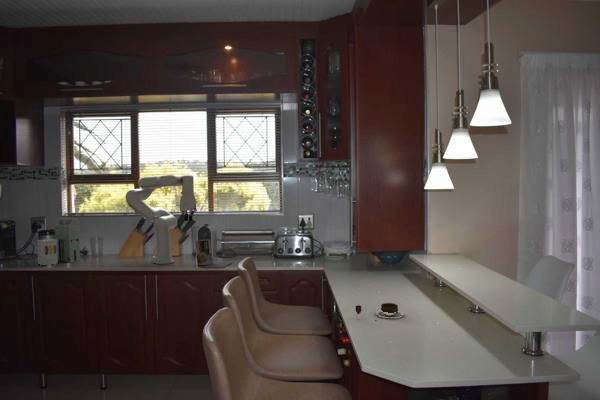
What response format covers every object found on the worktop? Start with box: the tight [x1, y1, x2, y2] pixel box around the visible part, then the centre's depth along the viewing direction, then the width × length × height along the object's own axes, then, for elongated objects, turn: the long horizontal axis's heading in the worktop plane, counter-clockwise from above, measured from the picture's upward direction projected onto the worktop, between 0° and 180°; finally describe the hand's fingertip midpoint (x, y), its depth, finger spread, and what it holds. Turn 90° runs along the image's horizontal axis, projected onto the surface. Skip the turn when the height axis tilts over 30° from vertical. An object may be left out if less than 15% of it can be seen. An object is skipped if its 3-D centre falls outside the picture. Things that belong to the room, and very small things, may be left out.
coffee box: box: [194, 238, 214, 266], centre depth 317 cm, size 9×6×16 cm
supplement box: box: [36, 238, 58, 266], centre depth 323 cm, size 10×9×17 cm
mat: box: [203, 261, 233, 269], centre depth 314 cm, size 12×17×1 cm
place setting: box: [355, 302, 399, 315], centre depth 202 cm, size 18×20×6 cm
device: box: [54, 217, 81, 263], centre depth 335 cm, size 16×8×30 cm, turn 60°
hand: (188, 220), depth 318 cm, fingers closed
